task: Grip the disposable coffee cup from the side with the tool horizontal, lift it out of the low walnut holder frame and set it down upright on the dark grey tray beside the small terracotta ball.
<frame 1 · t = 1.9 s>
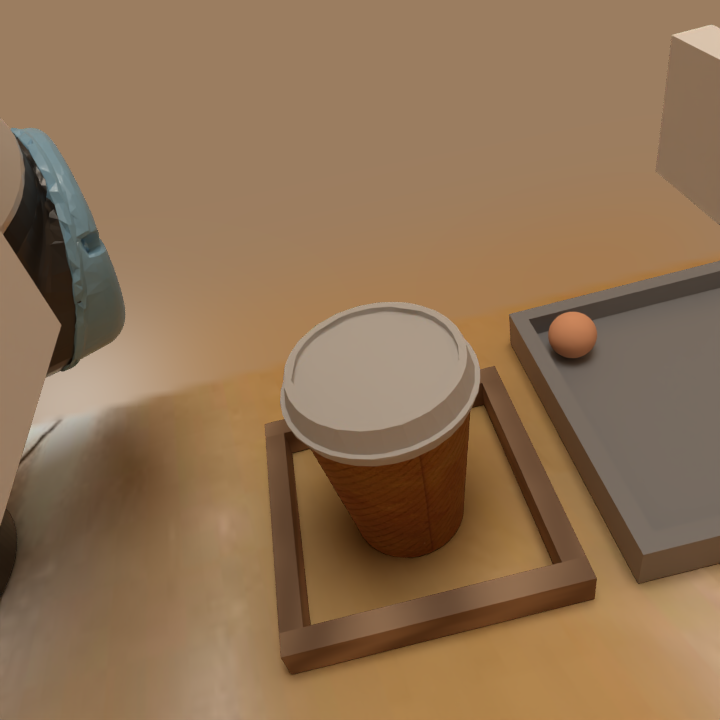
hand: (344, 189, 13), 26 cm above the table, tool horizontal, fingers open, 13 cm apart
disposable coffee cup: (409, 511, 38), resting in holder
ball: (571, 351, 43), point 1 cm above the table, touching tray
holder: (409, 509, 38), on the table
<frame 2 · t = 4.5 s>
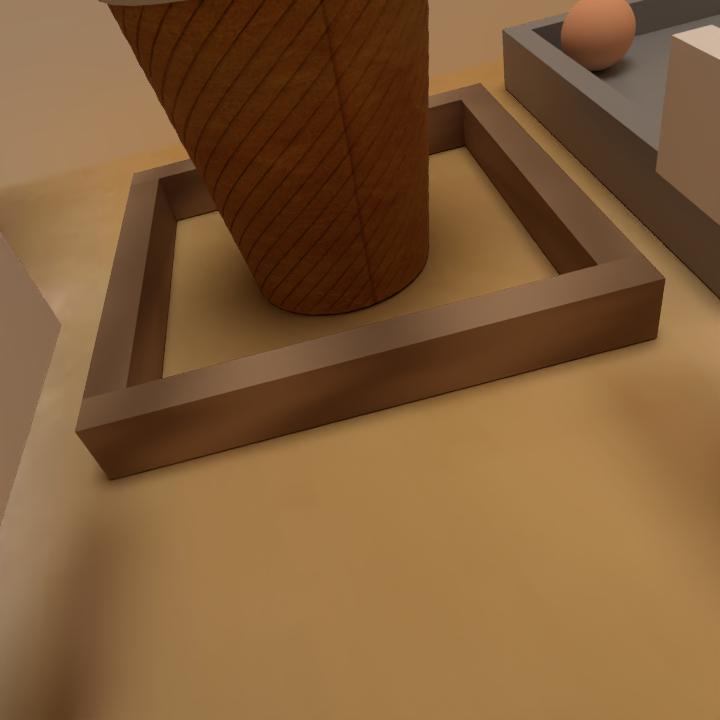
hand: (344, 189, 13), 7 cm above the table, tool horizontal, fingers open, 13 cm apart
disposable coffee cup: (343, 265, 24), resting in holder
ball: (595, 68, 29), point 1 cm above the table, touching tray
holder: (342, 260, 24), on the table
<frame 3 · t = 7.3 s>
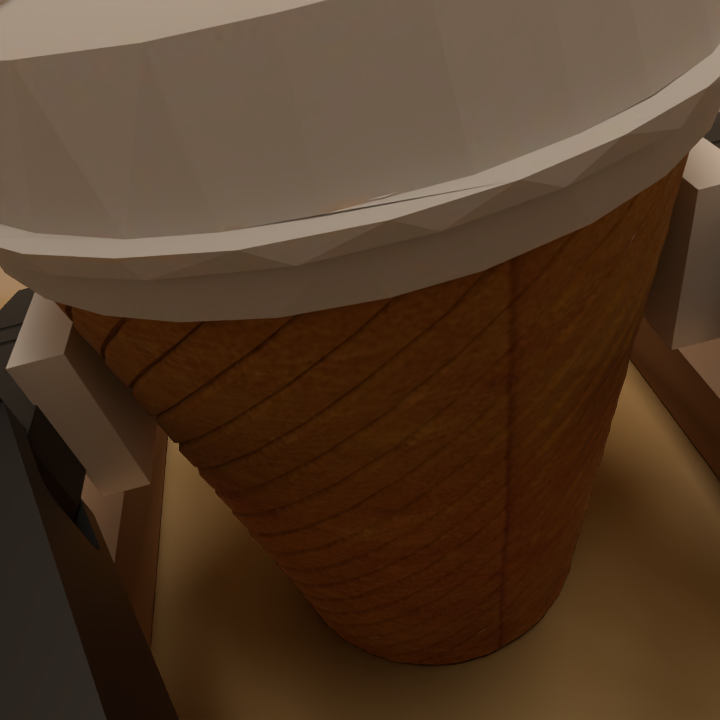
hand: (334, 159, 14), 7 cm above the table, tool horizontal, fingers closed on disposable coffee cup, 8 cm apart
disposable coffee cup: (430, 532, 15), resting in holder, touching gripper
holder: (428, 527, 15), on the table
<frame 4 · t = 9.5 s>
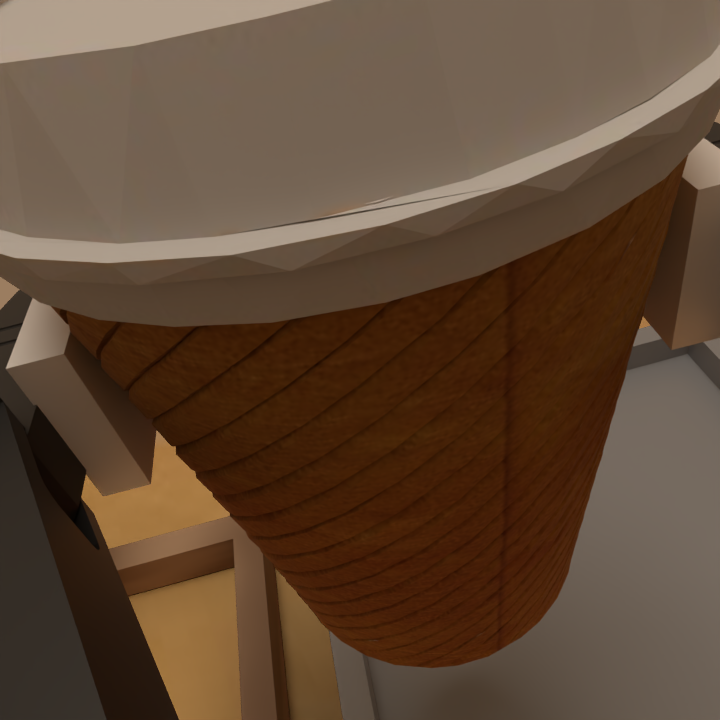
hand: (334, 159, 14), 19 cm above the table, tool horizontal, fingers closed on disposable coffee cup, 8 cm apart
disposable coffee cup: (429, 534, 15), point 12 cm above the table, touching gripper
tray: (585, 571, 26), on the table
when the fingers open (10 cm above the table, at t = 12.0 s): disposable coffee cup drops 1 cm, resting on tray.
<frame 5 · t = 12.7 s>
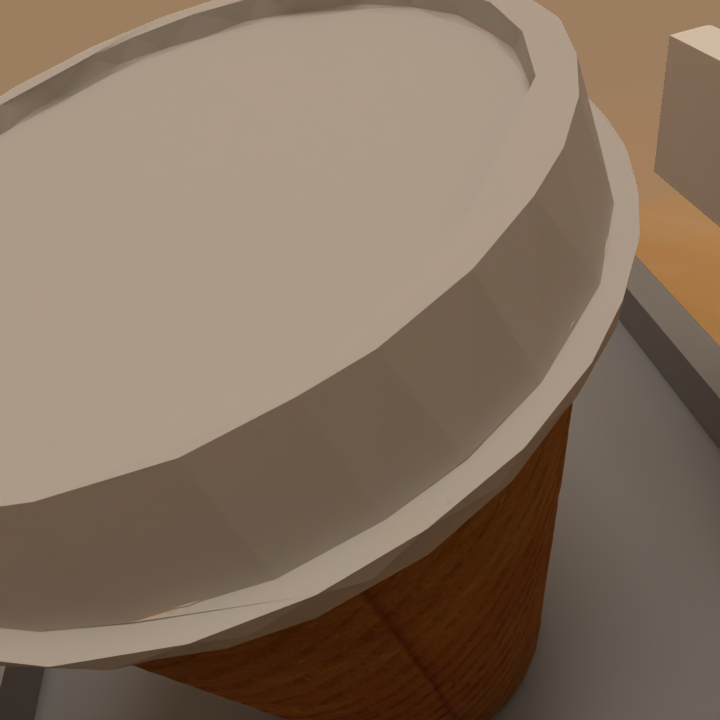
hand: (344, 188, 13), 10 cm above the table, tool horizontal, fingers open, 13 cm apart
disposable coffee cup: (404, 603, 15), point 1 cm above the table, touching gripper, tray
tray: (391, 549, 18), on the table
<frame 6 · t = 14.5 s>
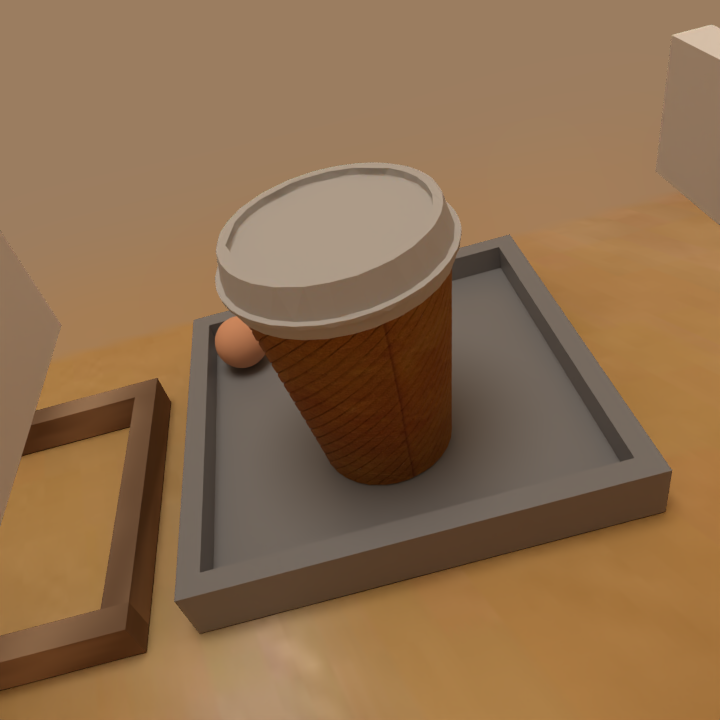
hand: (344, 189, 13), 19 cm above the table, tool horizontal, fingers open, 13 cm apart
disposable coffee cup: (388, 436, 32), point 1 cm above the table, touching tray
ball: (250, 361, 38), point 1 cm above the table, touching tray
holder: (15, 543, 33), on the table
tray: (388, 414, 34), on the table
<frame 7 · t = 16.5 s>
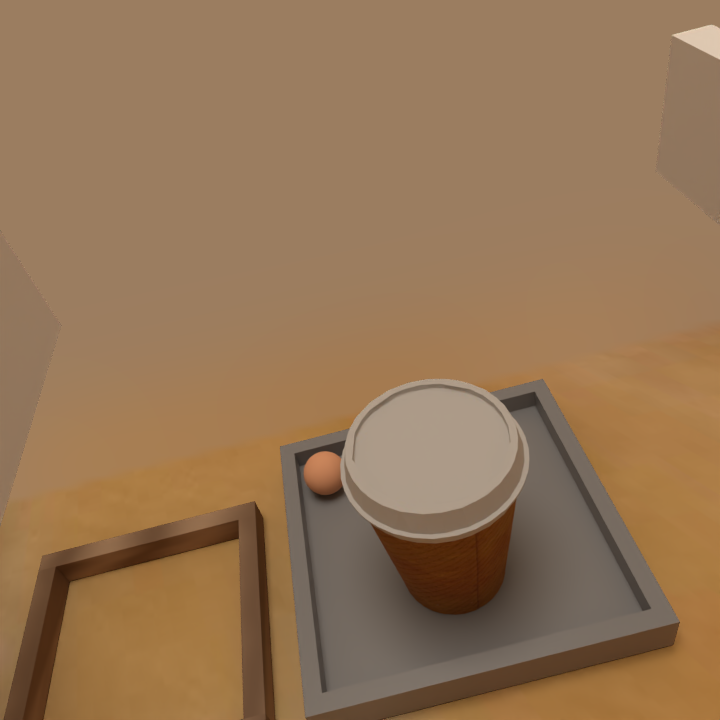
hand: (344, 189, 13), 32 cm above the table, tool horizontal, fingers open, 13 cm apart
disposable coffee cup: (453, 567, 40), point 1 cm above the table, touching tray
ball: (329, 485, 46), point 1 cm above the table, touching tray
holder: (151, 647, 41), on the table
tray: (449, 542, 43), on the table
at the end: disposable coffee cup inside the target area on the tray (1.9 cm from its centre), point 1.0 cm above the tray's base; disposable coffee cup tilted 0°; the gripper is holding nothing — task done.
